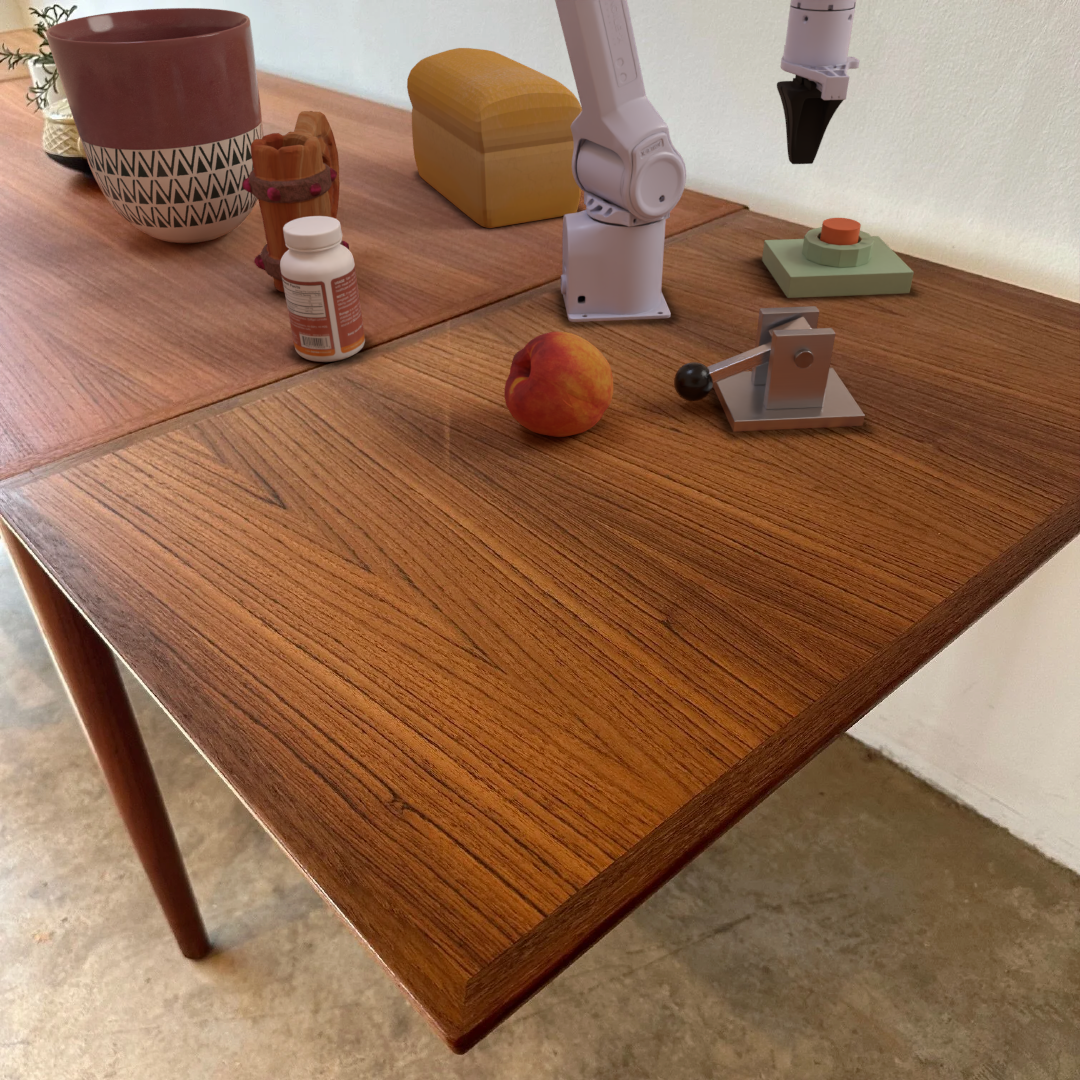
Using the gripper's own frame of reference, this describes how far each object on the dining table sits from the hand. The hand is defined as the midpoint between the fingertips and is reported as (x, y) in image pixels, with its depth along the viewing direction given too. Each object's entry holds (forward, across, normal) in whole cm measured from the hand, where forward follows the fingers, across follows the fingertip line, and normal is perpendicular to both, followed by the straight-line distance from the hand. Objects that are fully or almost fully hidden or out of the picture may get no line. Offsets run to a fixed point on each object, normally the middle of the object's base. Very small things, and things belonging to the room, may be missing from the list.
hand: (800, 162), depth 98 cm
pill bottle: (+10, -17, +45) cm, 49 cm away
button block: (+10, -4, -4) cm, 12 cm away
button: (+7, -4, -4) cm, 8 cm away
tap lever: (+8, -30, +11) cm, 33 cm away
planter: (+10, +14, +64) cm, 66 cm away
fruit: (+10, -32, +26) cm, 43 cm away
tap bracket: (+10, -30, +8) cm, 33 cm away
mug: (+10, 0, +48) cm, 50 cm away
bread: (+10, +26, +30) cm, 41 cm away
